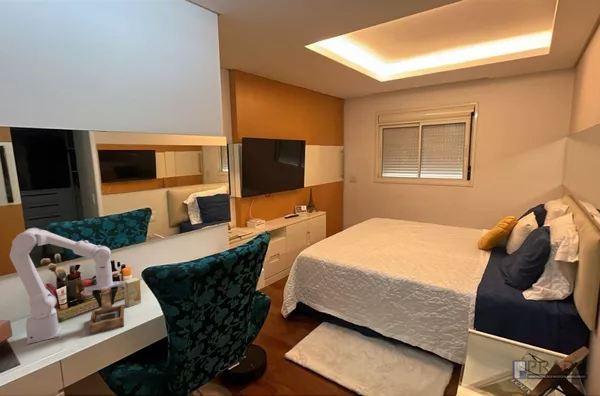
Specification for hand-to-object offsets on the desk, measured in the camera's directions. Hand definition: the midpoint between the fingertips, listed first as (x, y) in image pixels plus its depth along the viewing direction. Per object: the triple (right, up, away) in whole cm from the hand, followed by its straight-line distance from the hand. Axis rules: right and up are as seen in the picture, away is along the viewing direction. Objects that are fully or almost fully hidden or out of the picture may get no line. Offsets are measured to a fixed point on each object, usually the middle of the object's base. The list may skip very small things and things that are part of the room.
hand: (106, 305), depth 132 cm
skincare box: (+1, -6, +19) cm, 20 cm away
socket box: (0, -8, +1) cm, 8 cm away
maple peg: (0, -2, 0) cm, 2 cm away
